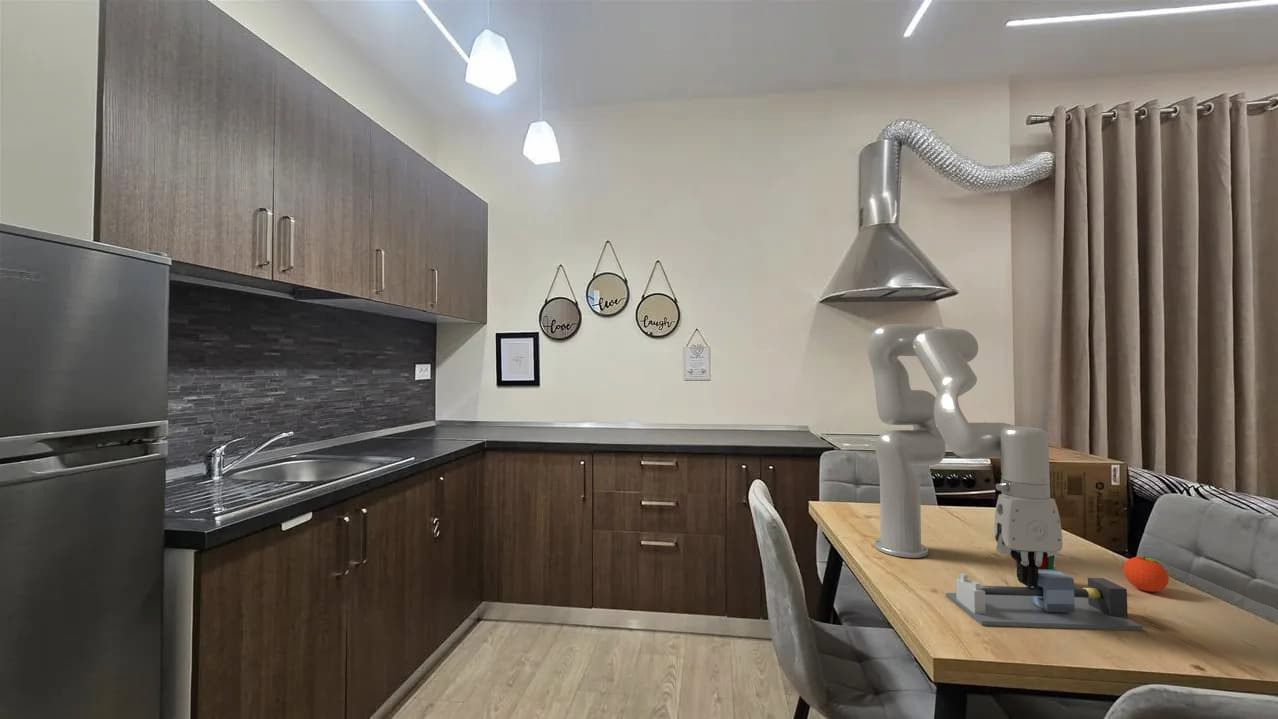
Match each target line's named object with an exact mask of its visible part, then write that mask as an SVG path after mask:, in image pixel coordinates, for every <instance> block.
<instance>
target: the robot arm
mask: <svg viewBox="0 0 1278 719" xmlns="http://www.w3.org/2000/svg"><path fill="white" fill-rule="evenodd" d="M867 342H868V343H867V356H868V361H869V363H870V366H871V367H870V368H871V371H872V374H873V382H874V391H875V400H876V410H877V415H878V418H879V419H880V421H881V422H882V423H884V424H886V425H888V426H889V425H891V426H892V425H893V426H912V428H913V429H899V430H898V429H896V430H895V429H893V430H889V431H885V432H882V433H881V434H880V435H879V436H878V437H877V438H876V440H875V443H874V449H875V456H876V460H877V465H878V471H879V474H878V475H879V494H880V495H879V501H880V502H879V504H880V505H879V506H880V507H879V509H880V514H879V515H880V516H879V517H880V529H879V530H880V538H877V539H875V541H874V548H876V550H878V551H880V552H882V553H884V554H887V555H890V556H894V557H900V558H906V559H907V558H910V559H913V558H914V559H918V558H924V557H926V556H928V555H929V549H928V547H927V546H925V545H924V544H922V521H921V520H922V519H921V518H922V515H921V514H922V513H921V512H922V511H921V508H922V507H921V505H922V504H921V485H920V484H921V483H920V480H919V478H918V476H917V475H916V472H914V470H913V467H919V466H936V465H937V464H940V463H941V462H942V461H943V460H944V458H945V456H946V446H947V447H948V449H949V450H950V451H951V452H952V453H953V454H954V455H956V456H957V457H959V458H963V459H966V460H971V459H972V460H973V459H974V460H978V459H1000V466H1001V467H1000V469H1001V470H1000V473H1001V474H1000V477H1001V479H1000V483H995V489H996V490H997V491H1000V492H1001V493H1000V494H998V496H997V501H996V505H995V512H994V538H995V542H996V543H997V545H996V548H995V550H996V551H997V552H999V553H1000V554H1003V555H1006V556H1009V557H1011V558H1012V559H1013V561H1014V562H1016V578H1017V581H1018V582H1019V583H1021V584H1023V585H1024V586H1025V587H1032V586H1033V587H1038V566H1041V565H1042V561H1043V560H1044V559H1045V558H1046V557H1047V556H1048V557H1049V556H1053V555H1055V556H1057V555H1058V554H1059V552H1060V551H1062V549H1063V546H1064V545H1063V532H1062V524H1061V522H1062V521H1061V518H1060V512H1059V509H1058V505H1057V503H1056V499H1054V498H1051V486H1050V485H1051V483H1050V481H1051V480H1050V477H1051V476H1050V446H1049V445H1050V444H1049V443H1050V442H1049V441H1050V440H1049V434H1048V433H1047V431H1046V430H1045V429H1043V428H1040V427H1039V428H1038V427H1031V426H1017V425H1014V424H1010V423H1005V422H987V421H986V422H985V421H984V422H969V421H968V420H967V418H966V417H965V415H964V413H963V412H962V410H961V408H960V405H959V397H961V396H963V395H964V394H966V393H967V392H969V391H971V390H972V389H973V388H974V387H975V386H976V384H977V382H978V378H977V376H976V374H975V372H974V370H973V369H972V368H971V366H970V365H969V362H972V361H973V360H974V359H976V357H977V355H978V352H979V344H978V341H977V339H976V337H975V336H974V335H973V334H972V333H971V332H969V331H968V330H966V329H961V328H960V329H959V328H953V327H945V326H938V325H933V324H932V325H931V324H929V325H928V324H907V323H896V324H895V323H893V324H892V323H891V324H885V325H882V326H879V327H877V328H876V329H874V331H873V332H872V333H871V334H870V336H869V339H868V340H867ZM900 356H901V357H917V359H918V360H919V363H920V364H921V366H922V368H923V369H924V371H925V373H926V375H927V376H928V379H929V380H930V382H931V383H932V386H934V388H935V390H936V396H935V395H934V394H933V393H932V392H930V391H927V390H922V389H911V385H910V378H909V377H910V376H909V373H908V371H907V369H906V367H905V364H903V362H902V361H901V360H900V359H899V358H898V357H900Z"/></svg>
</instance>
